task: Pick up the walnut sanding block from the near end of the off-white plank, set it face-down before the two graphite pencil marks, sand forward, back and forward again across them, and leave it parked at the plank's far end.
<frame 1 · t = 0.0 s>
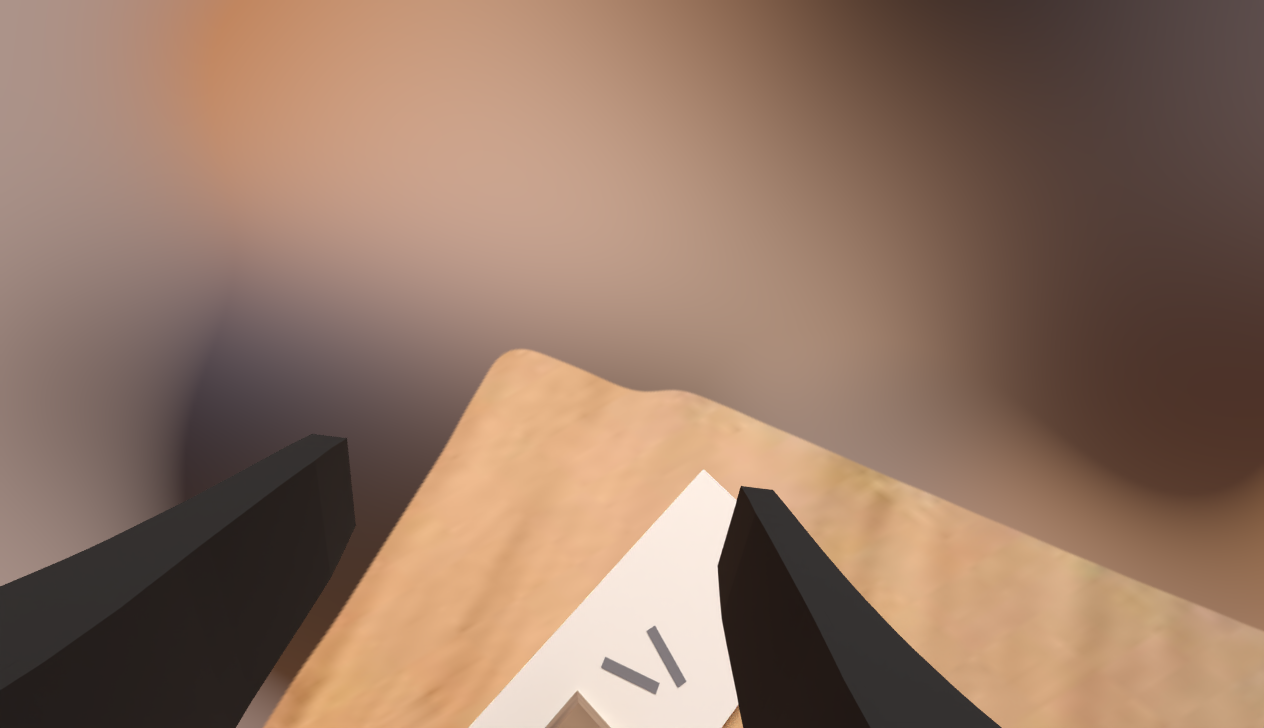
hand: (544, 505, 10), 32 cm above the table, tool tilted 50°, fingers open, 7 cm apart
plank: (643, 666, 38), on the table
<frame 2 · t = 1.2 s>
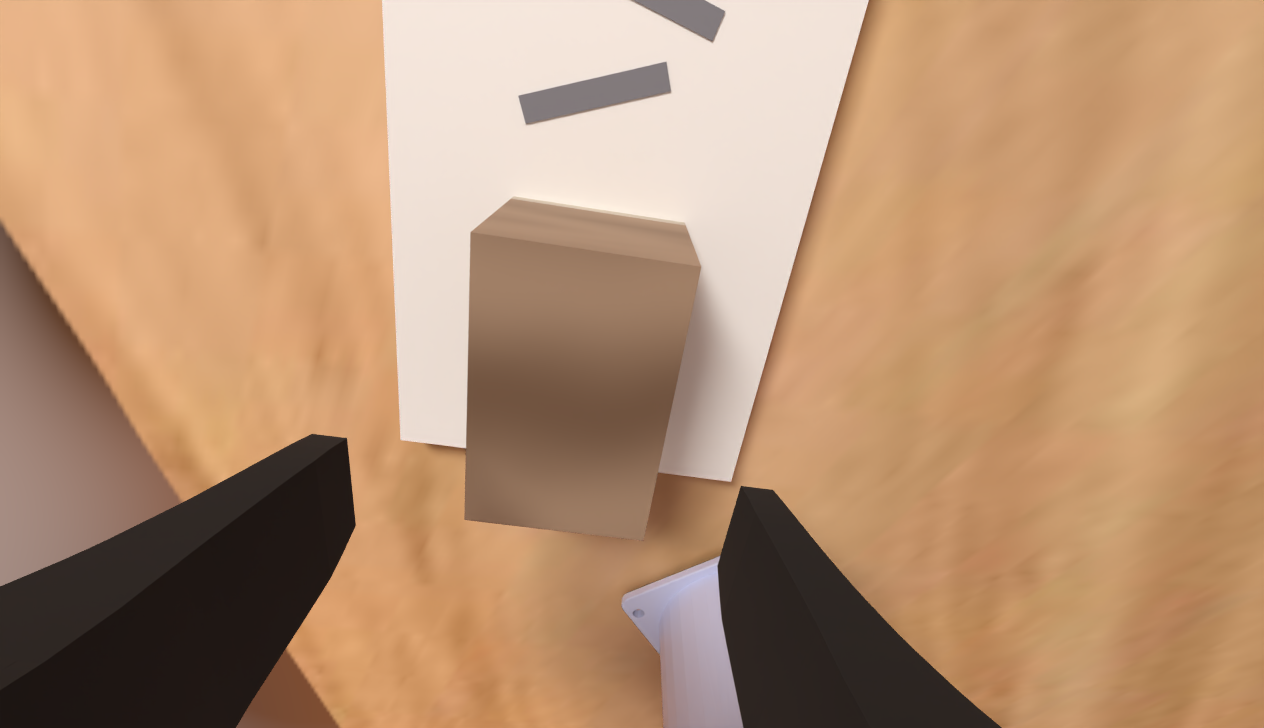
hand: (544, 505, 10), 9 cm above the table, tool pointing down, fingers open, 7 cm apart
sanding block: (584, 334, 18), point 1 cm above the table, touching plank
plank: (619, 56, 15), on the table
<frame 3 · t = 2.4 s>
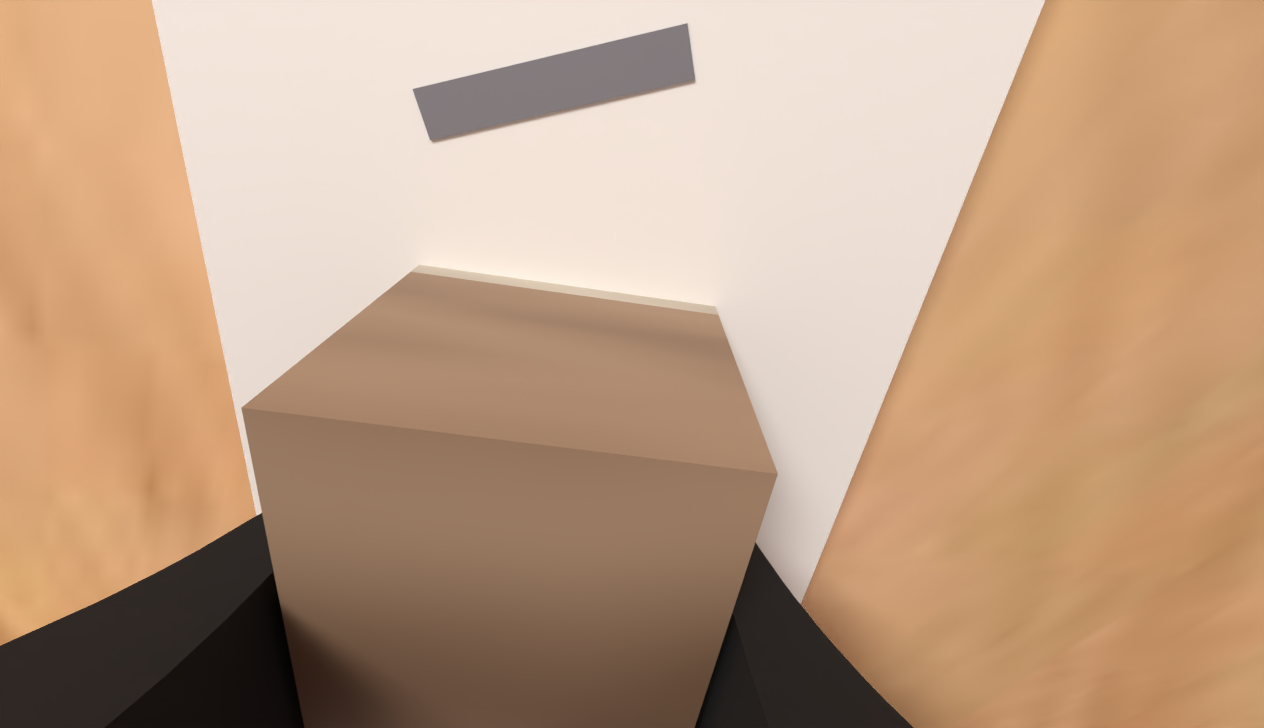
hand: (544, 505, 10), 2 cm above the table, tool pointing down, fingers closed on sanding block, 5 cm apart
sanding block: (550, 475, 11), point 1 cm above the table, touching gripper, plank
plank: (601, 19, 9), on the table
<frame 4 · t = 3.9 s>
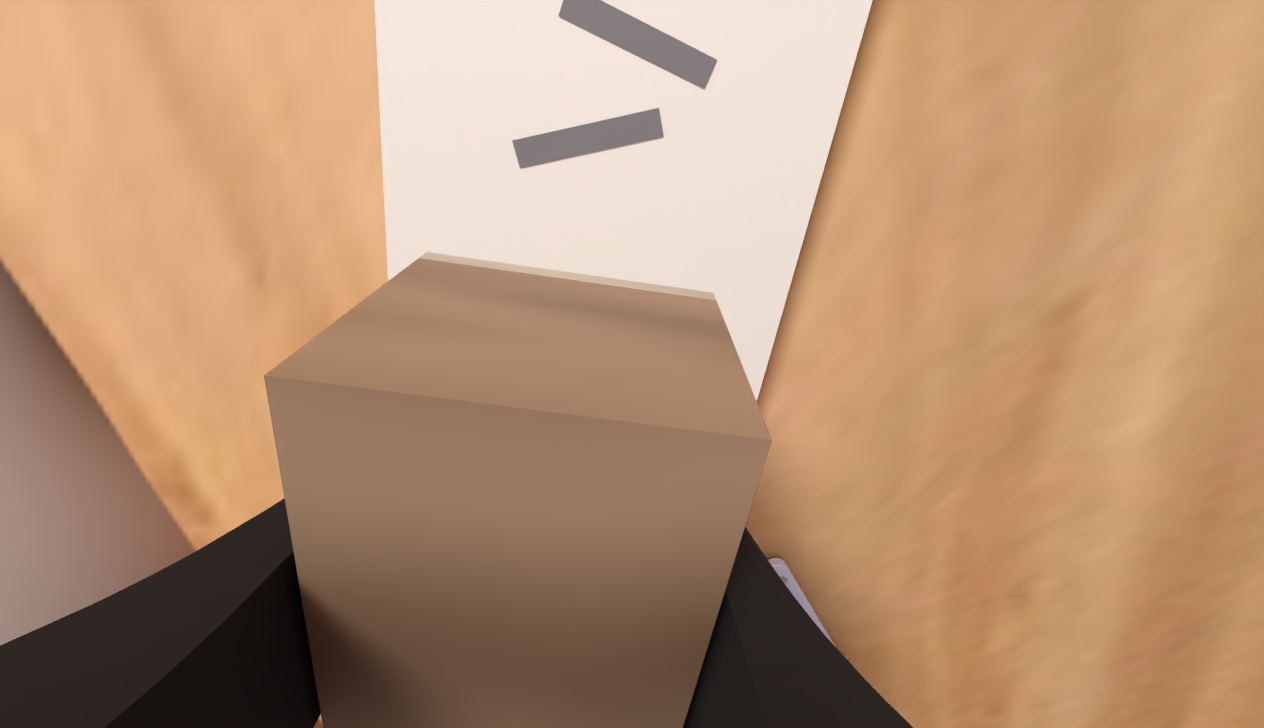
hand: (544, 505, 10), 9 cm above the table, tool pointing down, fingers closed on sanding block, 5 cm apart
sanding block: (553, 459, 11), point 8 cm above the table, touching gripper
plank: (612, 99, 15), on the table
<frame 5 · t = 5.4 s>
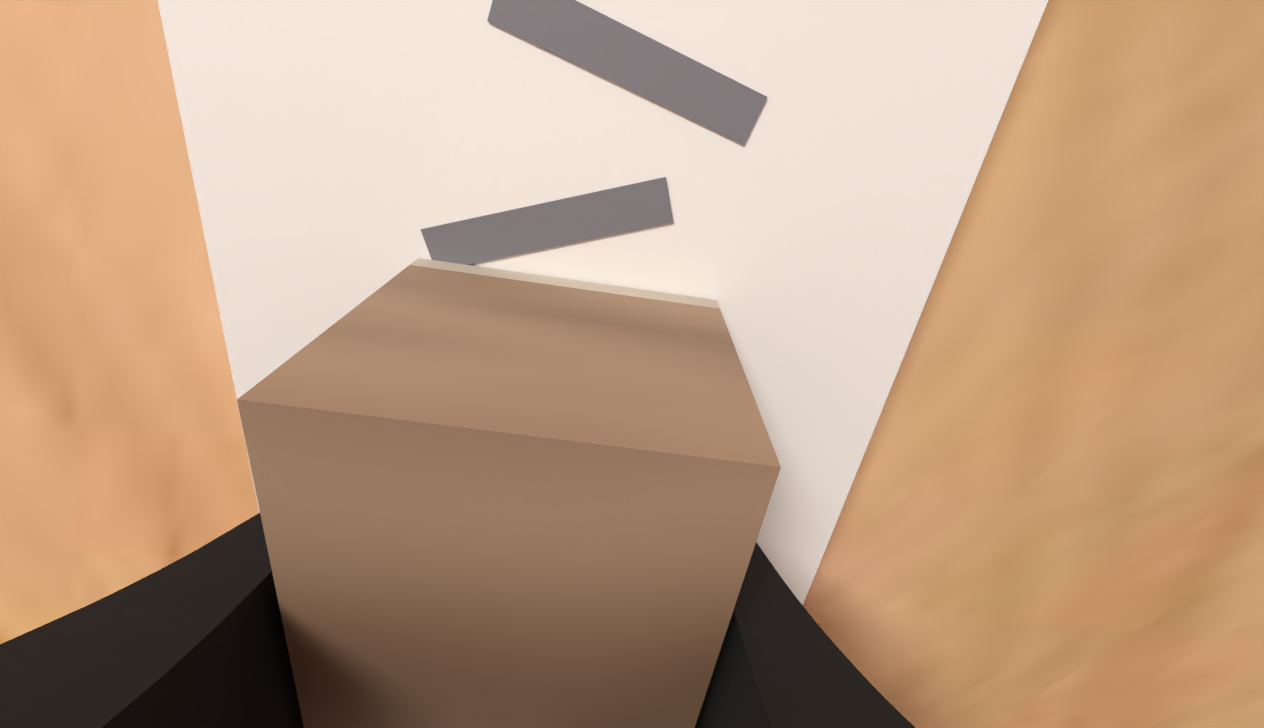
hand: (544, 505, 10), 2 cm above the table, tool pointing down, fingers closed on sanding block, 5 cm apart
sanding block: (550, 470, 11), point 1 cm above the table, touching gripper, plank
plank: (590, 156, 9), on the table
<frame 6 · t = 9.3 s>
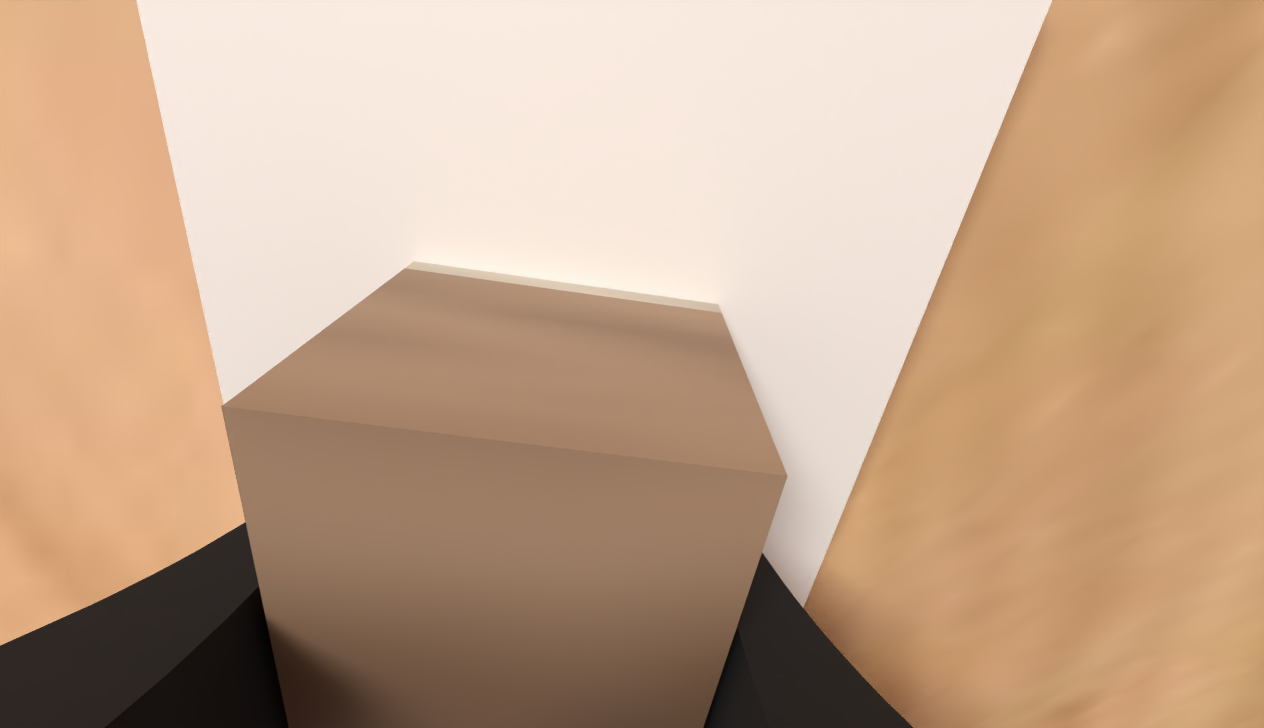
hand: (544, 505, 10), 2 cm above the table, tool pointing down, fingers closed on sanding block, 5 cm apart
sanding block: (549, 478, 11), point 1 cm above the table, touching gripper
plank: (544, 551, 13), on the table
when the fingers open (2 cm above the table, at t = 12.9 s): sanding block stays where it is, resting on plank.
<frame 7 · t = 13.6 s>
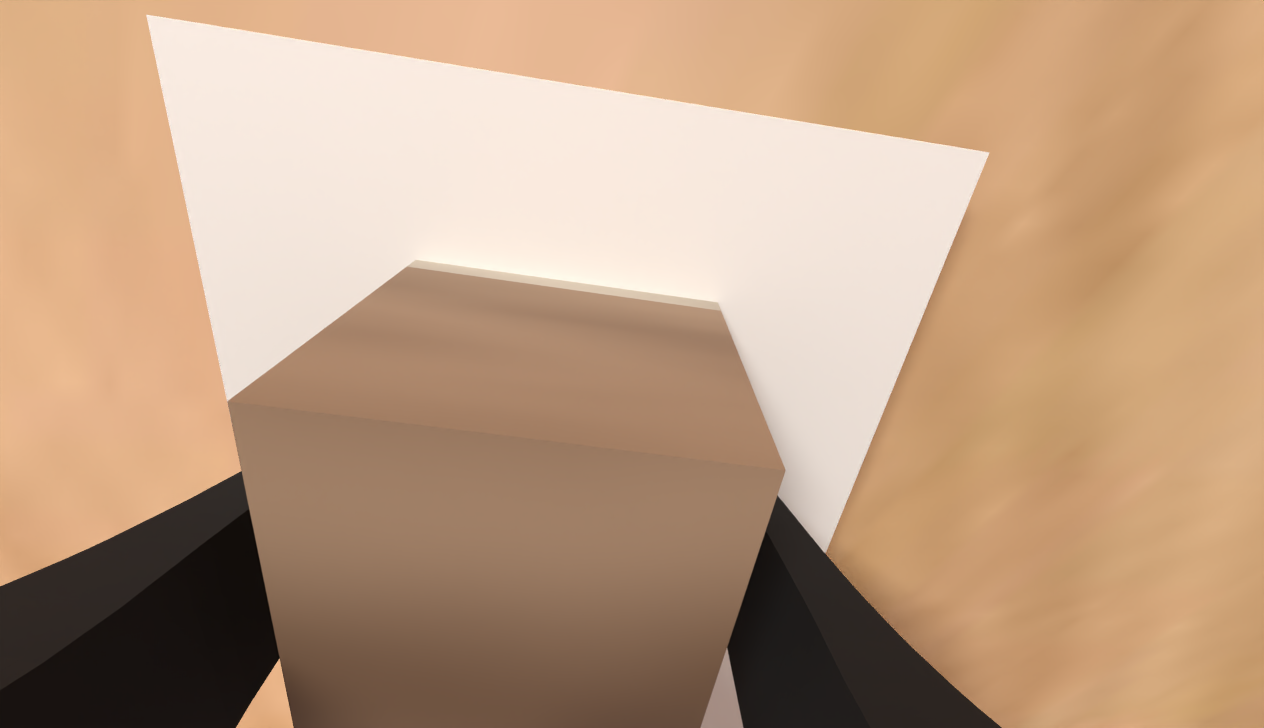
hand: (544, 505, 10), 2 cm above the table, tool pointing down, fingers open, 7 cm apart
sanding block: (549, 475, 11), point 1 cm above the table, touching plank
plank: (537, 629, 15), on the table
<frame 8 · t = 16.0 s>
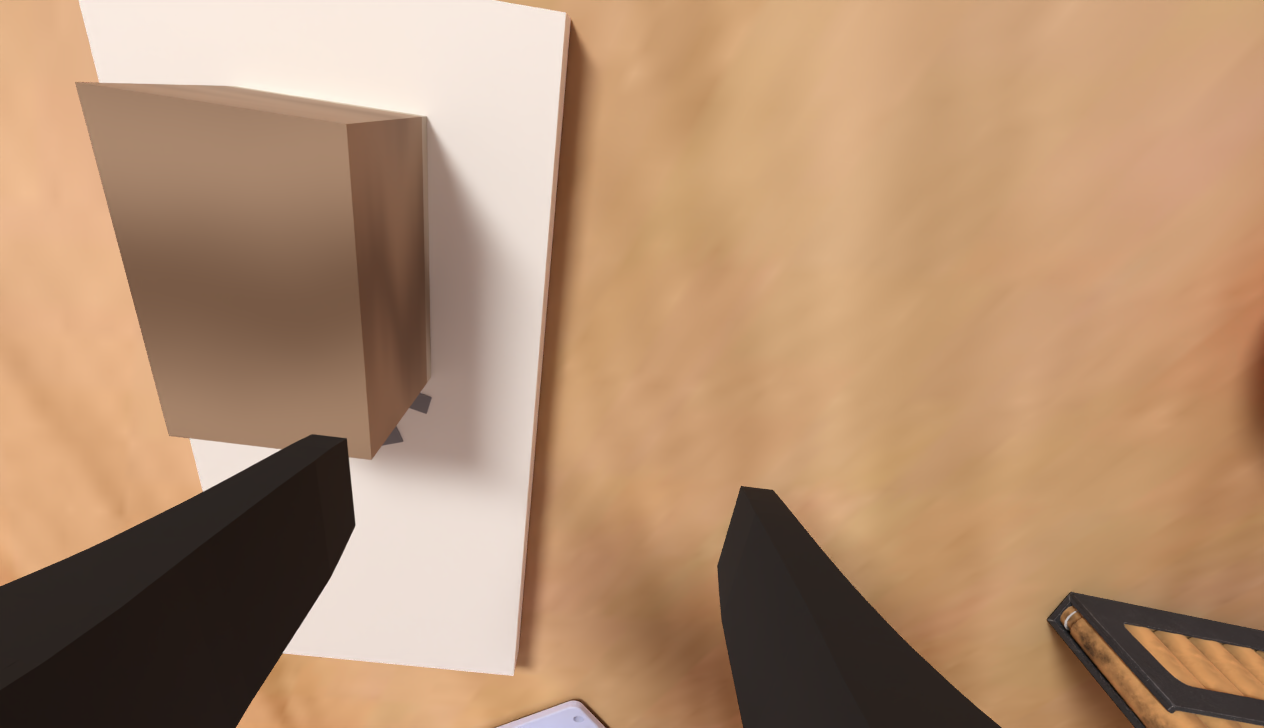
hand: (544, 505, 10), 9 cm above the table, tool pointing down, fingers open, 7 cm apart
ammunition clip: (1155, 622, 26), on the table
sanding block: (344, 248, 16), point 1 cm above the table, touching plank
plank: (373, 402, 20), on the table
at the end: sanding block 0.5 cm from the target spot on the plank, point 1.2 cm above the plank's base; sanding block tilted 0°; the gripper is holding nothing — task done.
